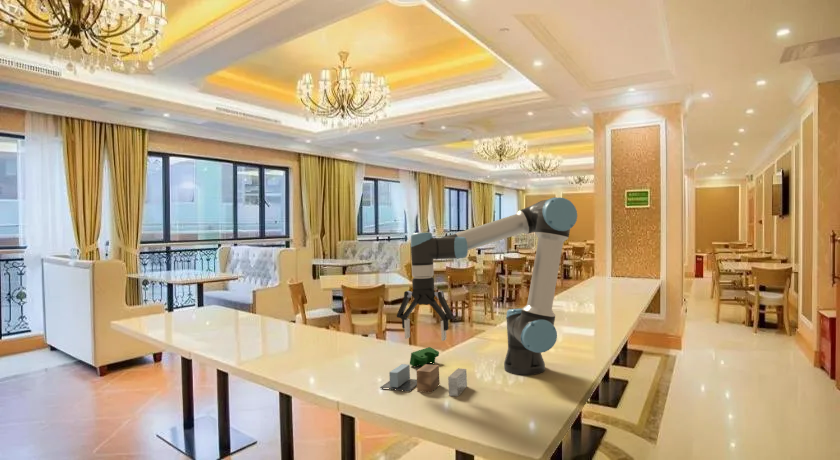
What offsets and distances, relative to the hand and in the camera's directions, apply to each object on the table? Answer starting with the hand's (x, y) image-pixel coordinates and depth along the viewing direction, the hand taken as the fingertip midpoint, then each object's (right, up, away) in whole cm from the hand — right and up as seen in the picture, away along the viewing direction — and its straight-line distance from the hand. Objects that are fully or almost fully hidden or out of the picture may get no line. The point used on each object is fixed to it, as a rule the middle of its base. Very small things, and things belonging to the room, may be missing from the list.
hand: (425, 339), depth 155 cm
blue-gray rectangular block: (-9, -17, +4) cm, 20 cm away
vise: (-2, -17, +1) cm, 17 cm away
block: (+1, -17, 0) cm, 17 cm away
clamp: (0, -18, +28) cm, 33 cm away
